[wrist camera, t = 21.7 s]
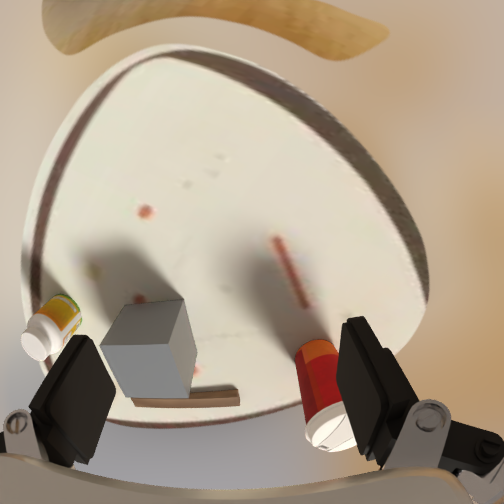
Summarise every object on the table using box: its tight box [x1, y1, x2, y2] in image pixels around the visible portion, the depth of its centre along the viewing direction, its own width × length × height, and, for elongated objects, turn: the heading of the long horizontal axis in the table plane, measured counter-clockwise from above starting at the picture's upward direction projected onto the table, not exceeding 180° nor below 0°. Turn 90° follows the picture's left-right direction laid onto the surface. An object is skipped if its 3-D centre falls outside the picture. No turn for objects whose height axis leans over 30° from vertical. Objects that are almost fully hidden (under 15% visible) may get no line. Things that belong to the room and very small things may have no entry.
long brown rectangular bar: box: [131, 389, 240, 408], centre depth 38 cm, size 2×16×2 cm, turn 97°
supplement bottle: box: [21, 294, 82, 361], centre depth 30 cm, size 5×5×10 cm
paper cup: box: [295, 340, 357, 452], centre depth 31 cm, size 8×8×14 cm
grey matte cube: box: [99, 299, 197, 398], centre depth 31 cm, size 8×8×9 cm
